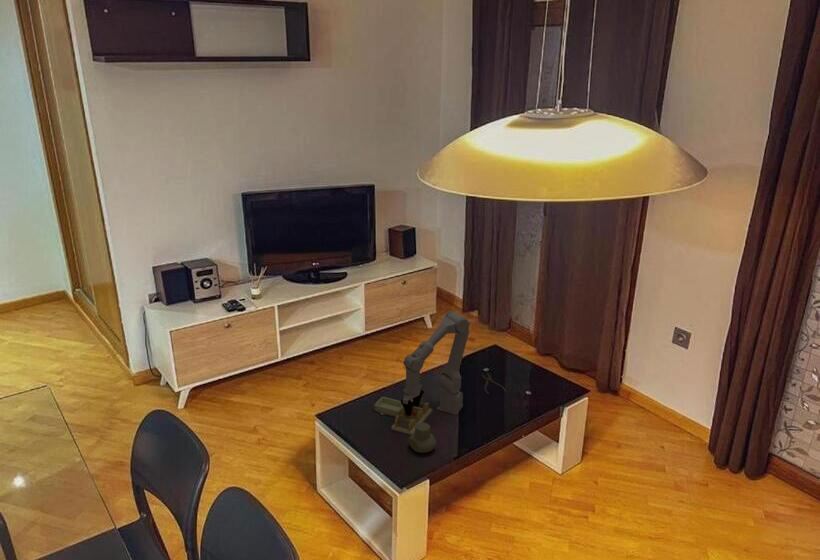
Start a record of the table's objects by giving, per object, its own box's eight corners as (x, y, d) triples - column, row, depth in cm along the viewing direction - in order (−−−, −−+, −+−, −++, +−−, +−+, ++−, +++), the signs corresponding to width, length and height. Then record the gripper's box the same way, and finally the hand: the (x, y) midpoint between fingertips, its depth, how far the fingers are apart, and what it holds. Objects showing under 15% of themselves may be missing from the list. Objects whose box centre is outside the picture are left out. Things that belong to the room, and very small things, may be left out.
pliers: (490, 395, 281) (469, 375, 299) (489, 396, 282) (469, 376, 299) (508, 391, 285) (486, 371, 302) (508, 392, 285) (486, 373, 303)
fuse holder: (432, 411, 269) (432, 402, 267) (412, 435, 252) (412, 426, 250) (412, 406, 273) (412, 397, 271) (391, 429, 256) (391, 420, 254)
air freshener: (438, 451, 242) (439, 429, 238) (421, 458, 238) (421, 436, 234) (423, 438, 250) (423, 416, 247) (406, 444, 246) (406, 422, 243)
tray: (406, 408, 271) (406, 402, 270) (398, 417, 264) (398, 411, 263) (382, 402, 275) (382, 396, 274) (373, 411, 269) (373, 405, 268)
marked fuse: (421, 415, 261) (421, 409, 260) (419, 419, 259) (418, 413, 258) (405, 411, 264) (405, 405, 263) (402, 414, 262) (402, 409, 261)
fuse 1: (414, 423, 255) (414, 417, 254) (411, 427, 253) (411, 422, 252) (398, 419, 258) (398, 413, 257) (395, 423, 256) (395, 417, 255)
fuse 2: (428, 407, 267) (428, 401, 266) (425, 411, 265) (425, 405, 263) (412, 403, 270) (412, 397, 269) (409, 406, 268) (409, 401, 267)
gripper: (411, 372, 264) (411, 400, 268) (396, 387, 251) (396, 416, 256) (426, 376, 261) (425, 404, 266) (411, 392, 249) (411, 421, 253)
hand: (412, 410), depth 261 cm, fingers open, 7 cm apart
